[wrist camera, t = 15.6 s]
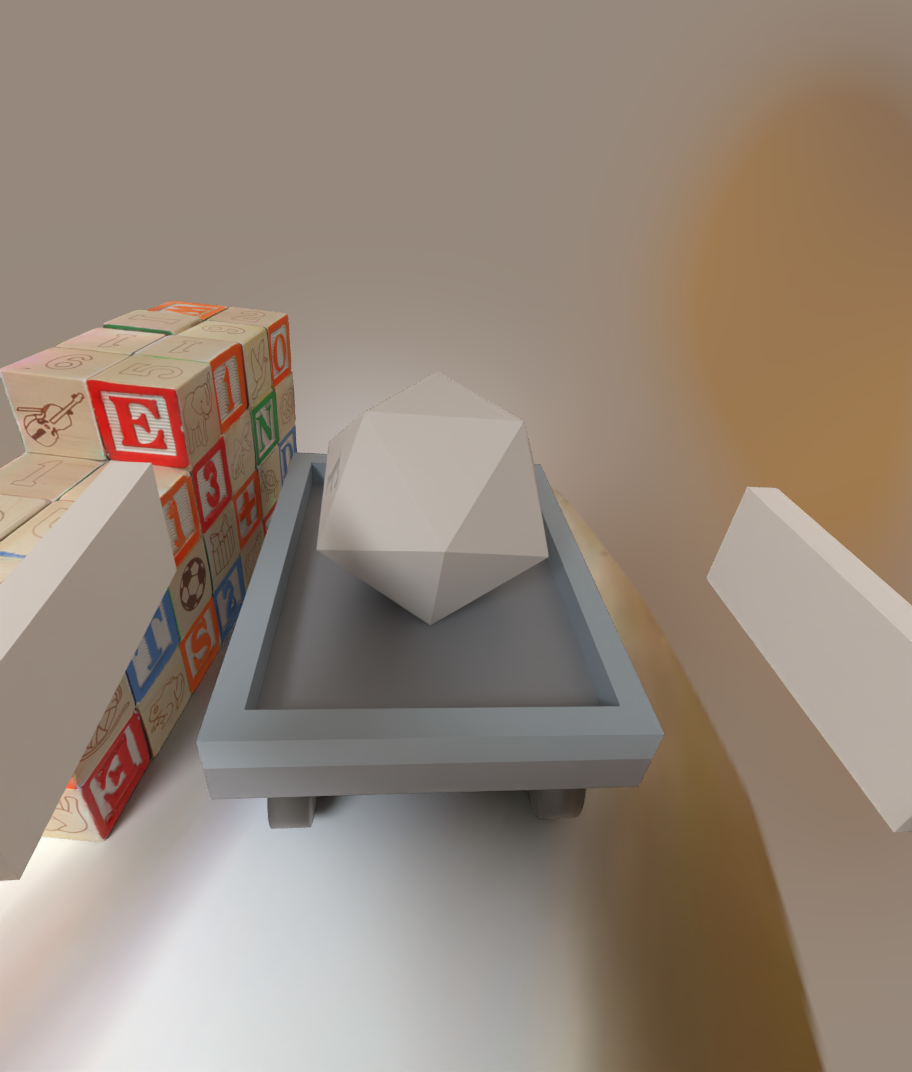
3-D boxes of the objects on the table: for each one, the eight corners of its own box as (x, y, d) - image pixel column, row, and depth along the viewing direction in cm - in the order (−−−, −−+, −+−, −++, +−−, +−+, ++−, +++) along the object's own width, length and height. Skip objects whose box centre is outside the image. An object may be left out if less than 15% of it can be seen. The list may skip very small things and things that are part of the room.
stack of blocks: (109, 850, 18) (-46, 540, 11) (-82, 827, 18) (-357, 504, 11) (303, 509, 36) (289, 308, 29) (206, 498, 36) (170, 294, 29)
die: (398, 510, 28) (272, 374, 21) (562, 457, 26) (483, 279, 18) (396, 664, 24) (232, 558, 16) (595, 619, 21) (507, 468, 14)
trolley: (227, 859, 18) (196, 741, 14) (301, 550, 32) (293, 452, 28) (610, 843, 20) (664, 734, 16) (521, 556, 34) (540, 464, 30)
